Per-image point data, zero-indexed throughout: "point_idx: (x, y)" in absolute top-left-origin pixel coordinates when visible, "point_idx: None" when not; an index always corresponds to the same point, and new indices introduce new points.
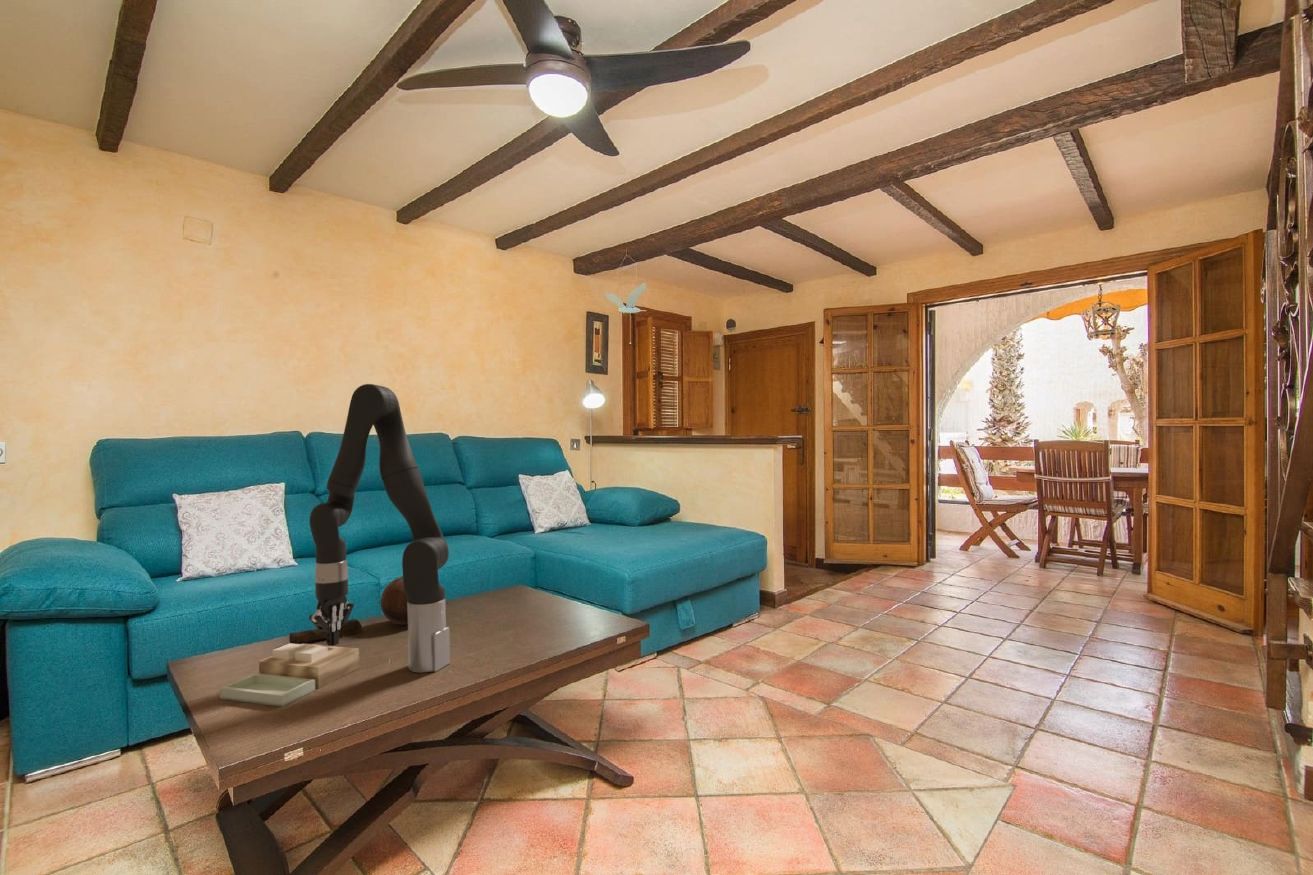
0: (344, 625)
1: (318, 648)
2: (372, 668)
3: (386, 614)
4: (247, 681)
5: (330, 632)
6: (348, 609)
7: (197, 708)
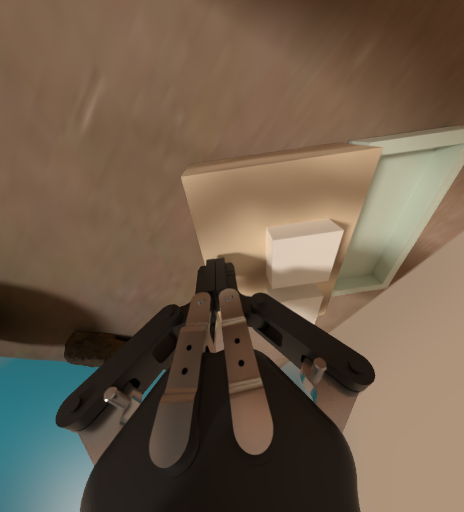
0: (98, 355)
1: (291, 253)
2: (169, 111)
3: None
4: (341, 285)
5: (238, 292)
6: (115, 382)
7: (404, 272)
